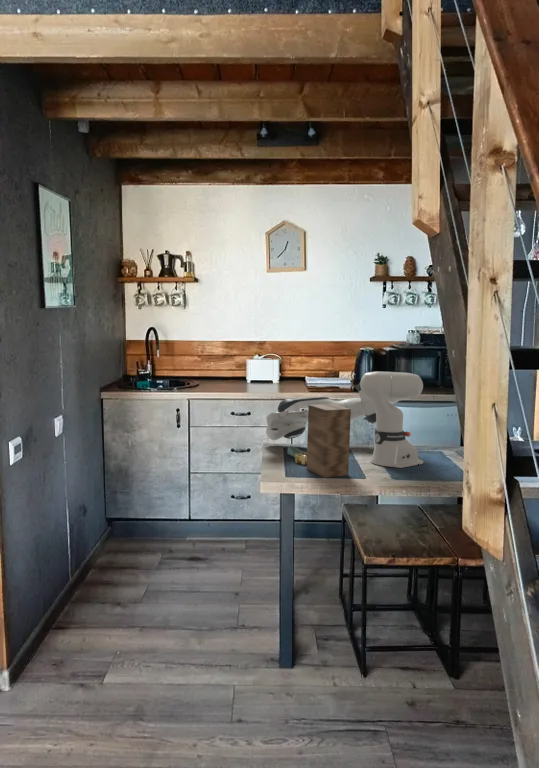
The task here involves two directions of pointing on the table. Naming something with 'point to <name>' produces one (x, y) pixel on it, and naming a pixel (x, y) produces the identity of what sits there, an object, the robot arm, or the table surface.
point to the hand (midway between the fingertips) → (296, 411)
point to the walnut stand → (328, 440)
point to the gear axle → (298, 455)
